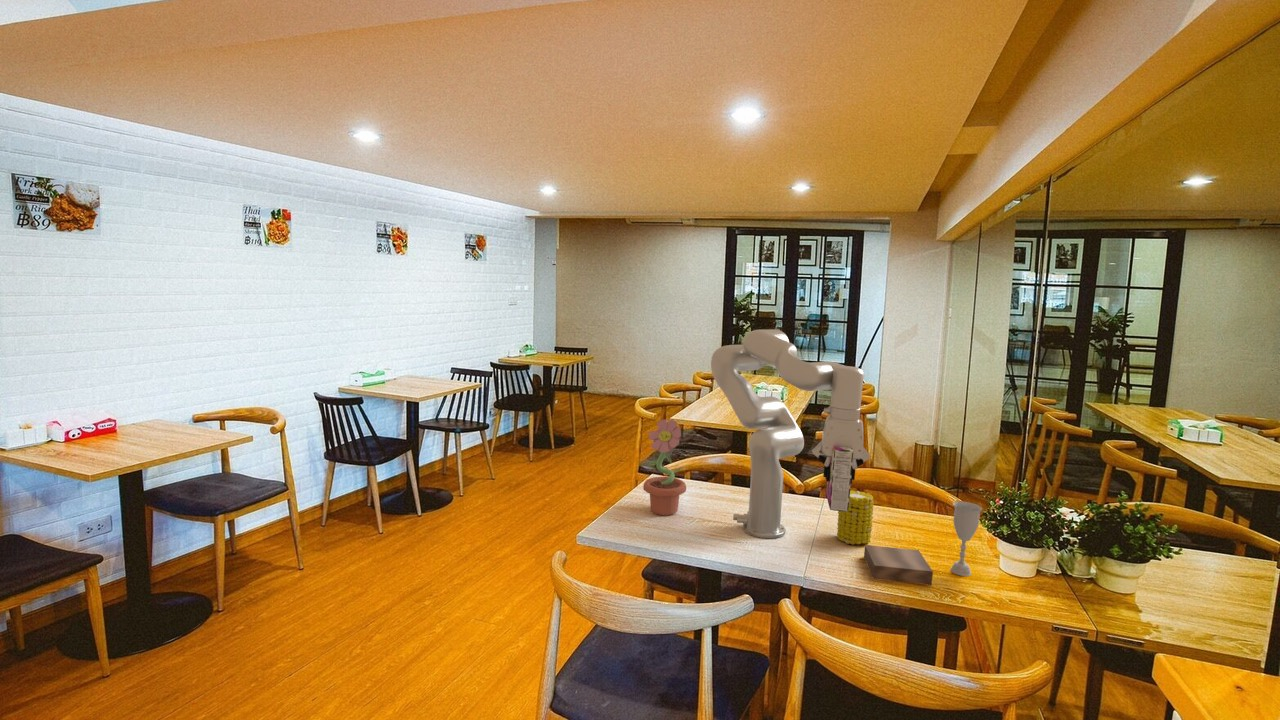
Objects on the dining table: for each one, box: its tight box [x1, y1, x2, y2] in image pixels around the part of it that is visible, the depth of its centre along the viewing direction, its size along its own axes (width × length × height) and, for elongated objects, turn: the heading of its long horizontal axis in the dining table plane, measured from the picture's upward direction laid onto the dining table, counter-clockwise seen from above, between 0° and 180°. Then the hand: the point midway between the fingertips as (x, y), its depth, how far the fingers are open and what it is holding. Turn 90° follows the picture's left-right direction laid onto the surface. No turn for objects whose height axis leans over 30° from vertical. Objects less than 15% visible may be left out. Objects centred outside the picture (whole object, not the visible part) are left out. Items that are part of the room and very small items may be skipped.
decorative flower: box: [642, 419, 687, 516], centre depth 200 cm, size 15×14×30 cm
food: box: [836, 489, 874, 546], centre depth 183 cm, size 15×12×10 cm
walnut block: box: [863, 544, 934, 586], centre depth 164 cm, size 14×13×4 cm
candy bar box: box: [825, 447, 853, 512], centre depth 164 cm, size 11×5×16 cm, turn 169°
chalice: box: [950, 501, 983, 577], centre depth 164 cm, size 7×7×18 cm
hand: (838, 480), depth 165 cm, fingers closed on candy bar box, 5 cm apart
